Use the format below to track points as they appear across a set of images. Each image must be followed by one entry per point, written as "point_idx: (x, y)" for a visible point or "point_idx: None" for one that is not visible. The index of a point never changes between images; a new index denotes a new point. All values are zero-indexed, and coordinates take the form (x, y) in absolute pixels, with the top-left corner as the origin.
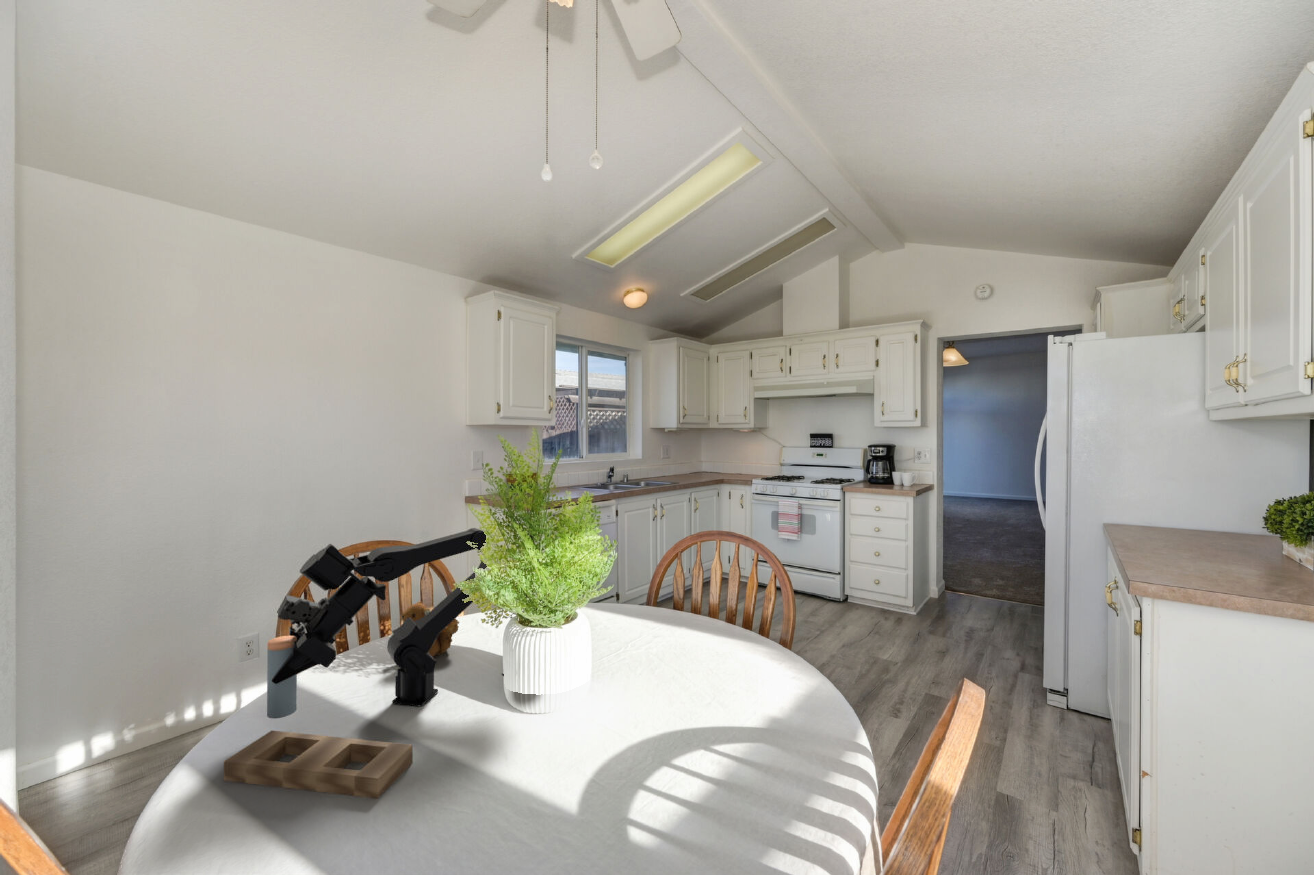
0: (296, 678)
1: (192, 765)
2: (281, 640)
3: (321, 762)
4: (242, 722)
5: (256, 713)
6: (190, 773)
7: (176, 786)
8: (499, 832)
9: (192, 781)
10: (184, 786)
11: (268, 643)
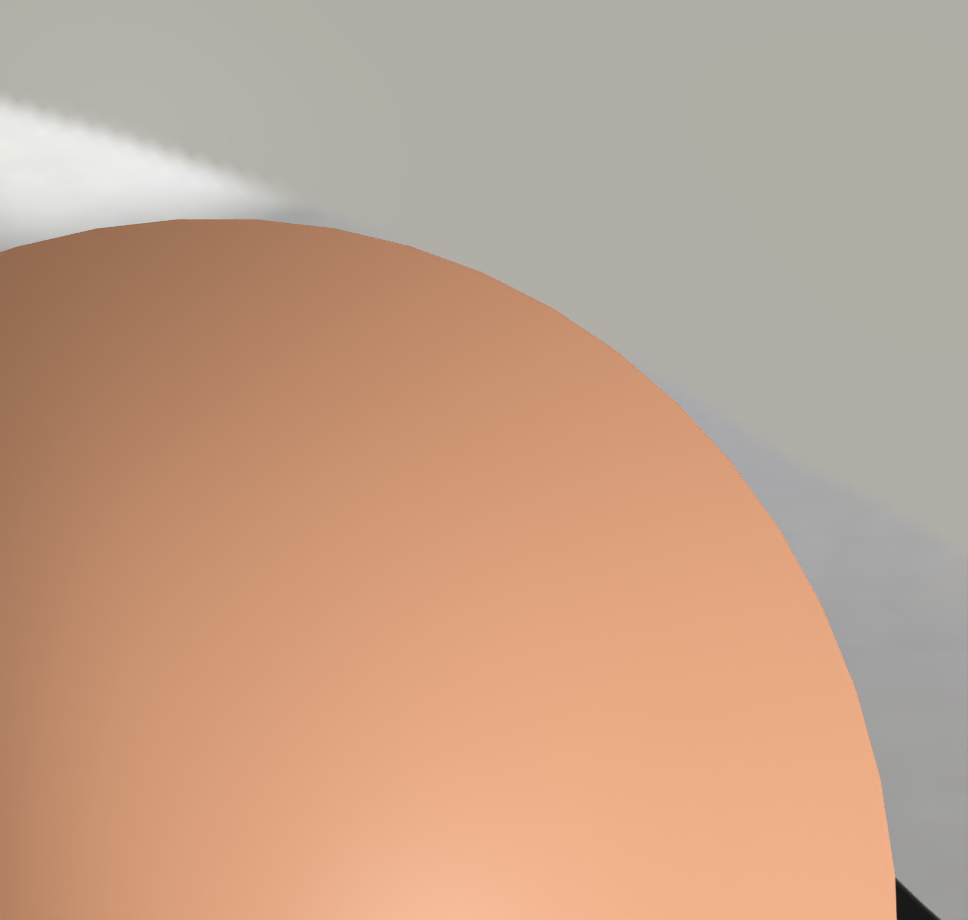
0: None
1: (282, 216)
2: (187, 809)
3: None
4: (774, 500)
5: (890, 599)
6: (177, 205)
7: (63, 144)
8: None
9: (58, 212)
10: (27, 177)
11: (128, 239)
